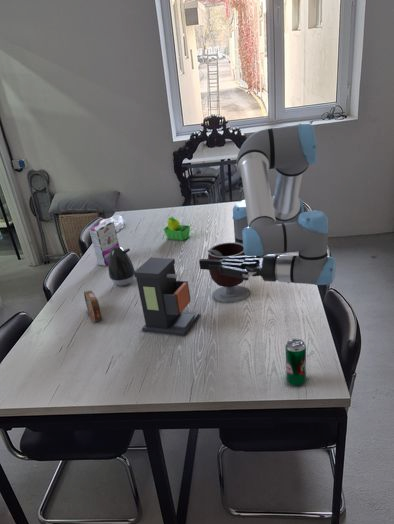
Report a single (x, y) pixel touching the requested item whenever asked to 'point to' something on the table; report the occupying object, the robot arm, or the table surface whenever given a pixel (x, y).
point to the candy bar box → (104, 241)
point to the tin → (92, 305)
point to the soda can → (295, 362)
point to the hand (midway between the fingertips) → (200, 264)
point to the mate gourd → (230, 284)
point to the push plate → (182, 297)
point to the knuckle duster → (115, 222)
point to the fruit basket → (176, 230)
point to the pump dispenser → (120, 266)
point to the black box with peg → (162, 298)
